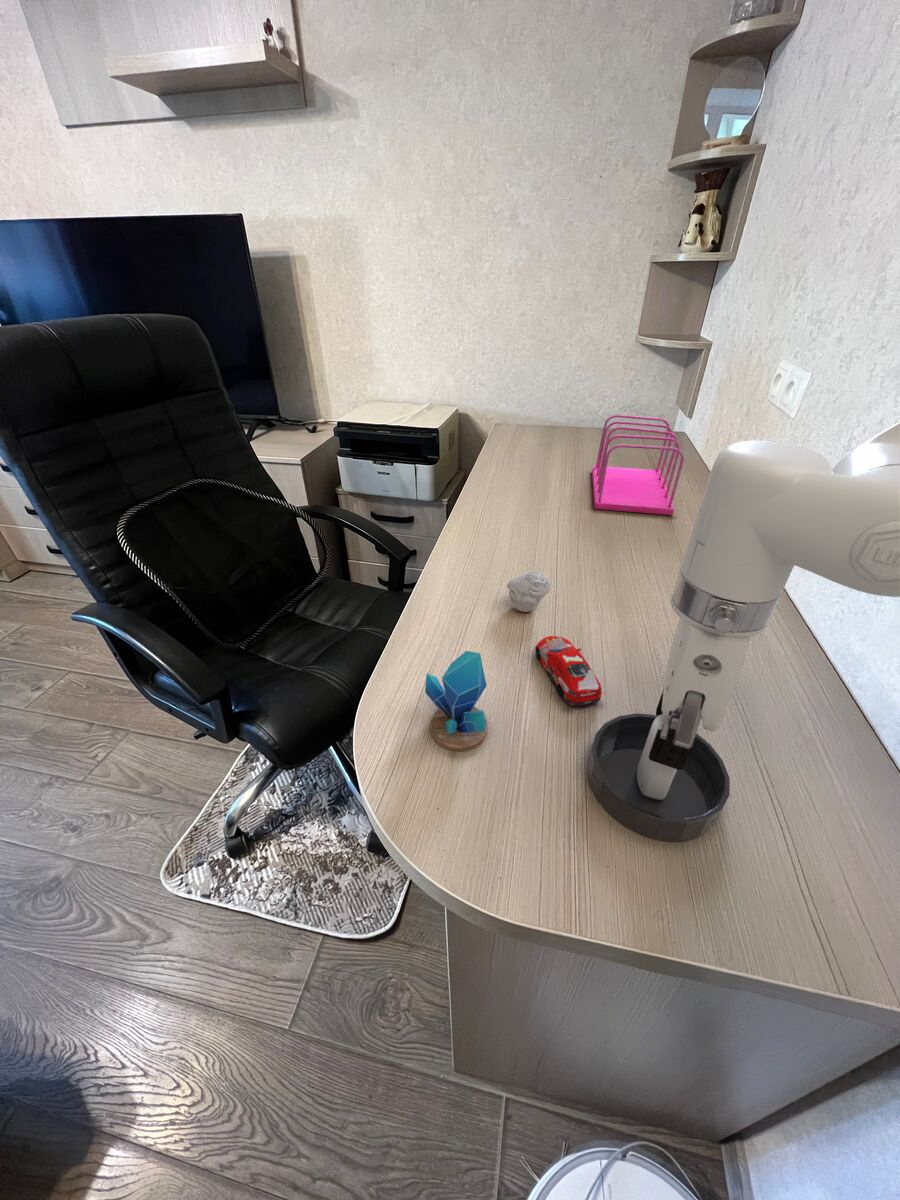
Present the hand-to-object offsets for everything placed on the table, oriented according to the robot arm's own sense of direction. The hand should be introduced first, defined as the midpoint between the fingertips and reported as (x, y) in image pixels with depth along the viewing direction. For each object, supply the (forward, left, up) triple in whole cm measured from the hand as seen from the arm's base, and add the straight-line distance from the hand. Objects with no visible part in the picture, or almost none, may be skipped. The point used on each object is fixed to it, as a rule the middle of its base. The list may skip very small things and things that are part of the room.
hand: (668, 738), depth 52 cm
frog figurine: (+23, -26, -8) cm, 36 cm away
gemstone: (+23, +2, -8) cm, 24 cm away
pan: (0, 0, -7) cm, 7 cm away
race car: (+13, -13, -8) cm, 20 cm away
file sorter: (+15, -85, -8) cm, 87 cm away
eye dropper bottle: (0, 0, -7) cm, 7 cm away
